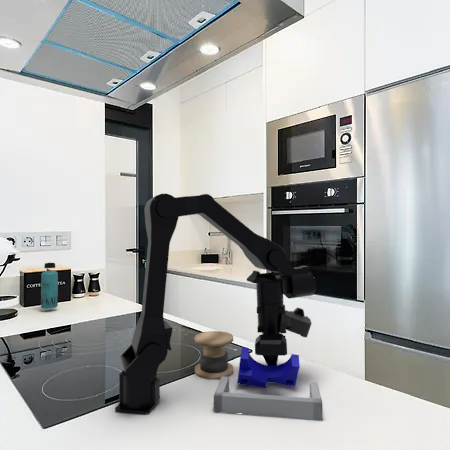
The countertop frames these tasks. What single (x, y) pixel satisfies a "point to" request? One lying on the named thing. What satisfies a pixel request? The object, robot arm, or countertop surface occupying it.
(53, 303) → the beverage bottle
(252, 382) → the cable clip
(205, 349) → the bobbin
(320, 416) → the gray u-shaped bracket
